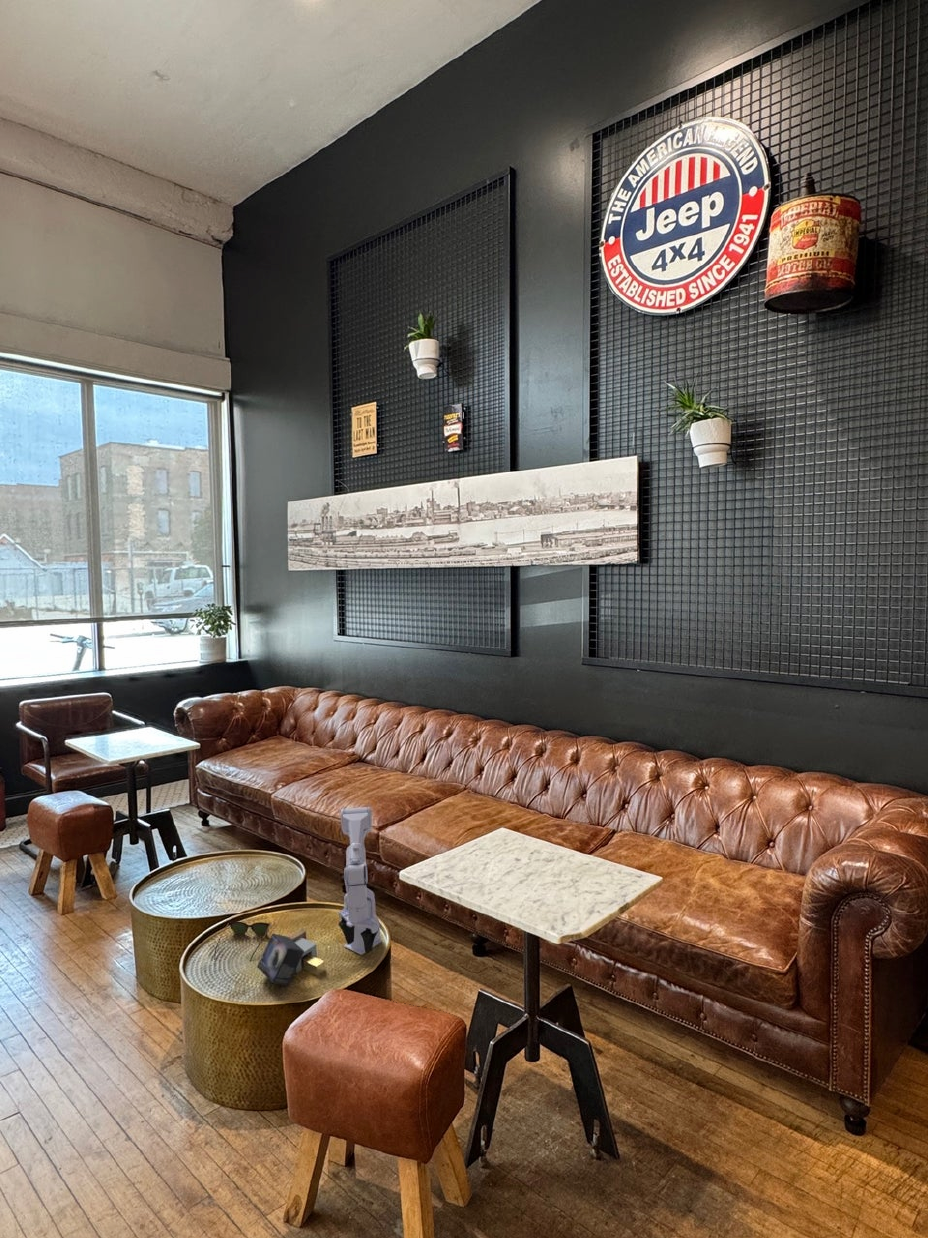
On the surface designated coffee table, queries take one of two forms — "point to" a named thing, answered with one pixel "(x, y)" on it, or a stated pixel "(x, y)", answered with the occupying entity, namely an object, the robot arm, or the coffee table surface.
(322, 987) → the coffee table surface
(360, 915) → the robot arm
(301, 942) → the socket block
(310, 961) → the yellow rectangular bar
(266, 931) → the sunglasses
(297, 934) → the backstop wall
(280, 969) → the small box
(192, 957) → the coffee table surface
